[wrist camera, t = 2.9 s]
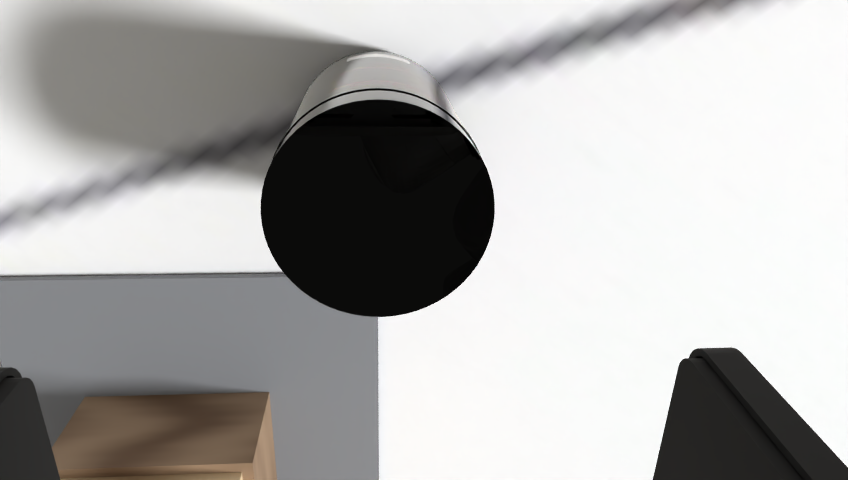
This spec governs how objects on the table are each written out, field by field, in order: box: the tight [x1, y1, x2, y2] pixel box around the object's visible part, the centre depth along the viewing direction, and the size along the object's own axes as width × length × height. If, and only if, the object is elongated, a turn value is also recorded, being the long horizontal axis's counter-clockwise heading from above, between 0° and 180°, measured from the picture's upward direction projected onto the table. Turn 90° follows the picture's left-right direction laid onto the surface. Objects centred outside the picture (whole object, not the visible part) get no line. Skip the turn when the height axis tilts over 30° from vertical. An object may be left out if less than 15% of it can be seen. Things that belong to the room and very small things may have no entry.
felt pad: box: [0, 273, 379, 480], centre depth 34 cm, size 18×18×1 cm
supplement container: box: [261, 51, 494, 317], centre depth 23 cm, size 7×7×10 cm
